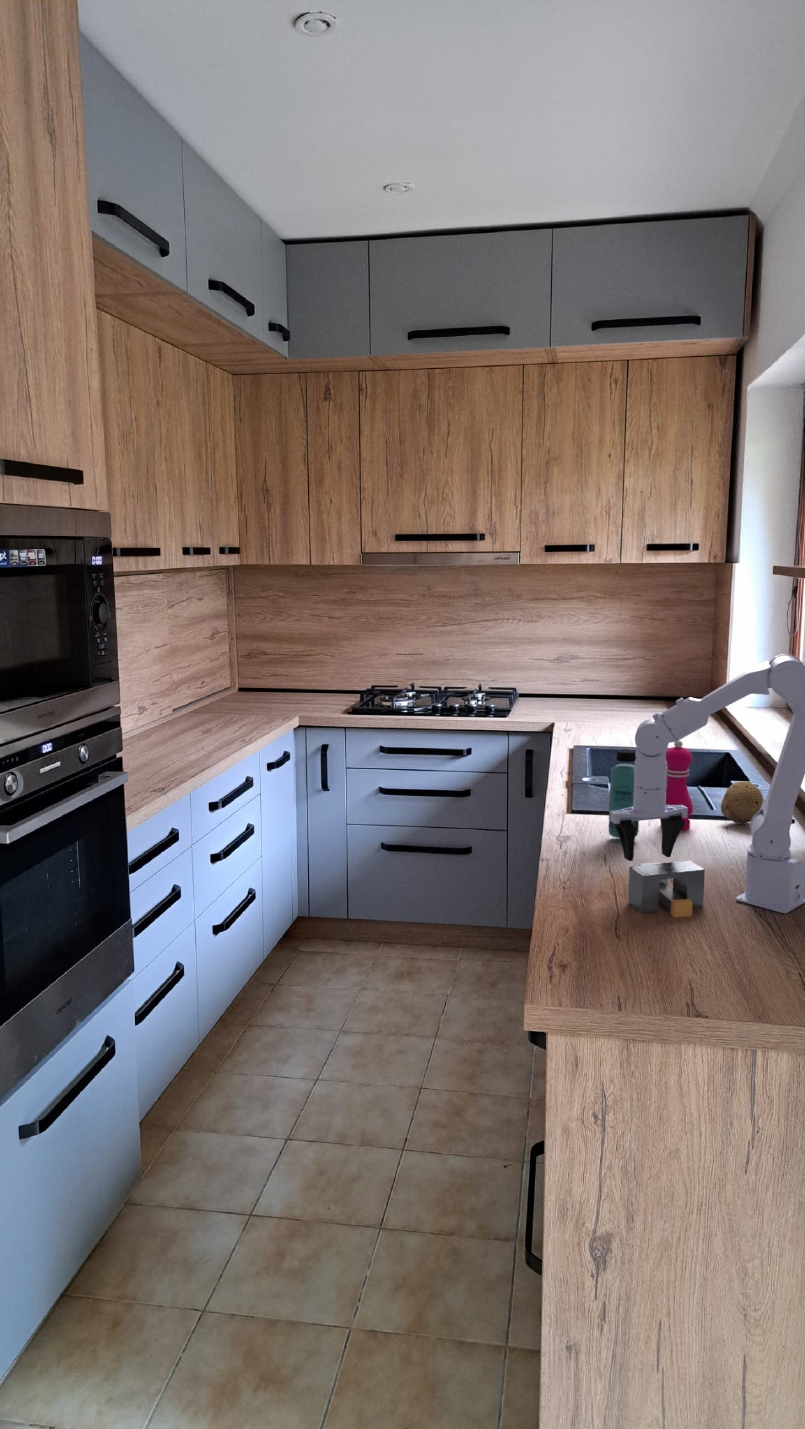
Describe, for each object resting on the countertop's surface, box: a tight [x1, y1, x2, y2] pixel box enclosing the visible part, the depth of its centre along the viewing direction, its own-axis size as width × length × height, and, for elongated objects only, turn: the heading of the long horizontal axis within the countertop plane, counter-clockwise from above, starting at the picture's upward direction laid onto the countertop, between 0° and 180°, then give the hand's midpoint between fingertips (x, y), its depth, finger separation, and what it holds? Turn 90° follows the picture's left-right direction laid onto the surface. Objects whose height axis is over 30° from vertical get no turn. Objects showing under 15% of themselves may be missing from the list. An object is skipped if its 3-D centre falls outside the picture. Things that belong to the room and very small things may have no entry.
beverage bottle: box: [607, 748, 640, 839], centre depth 210 cm, size 6×7×20 cm
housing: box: [628, 859, 706, 914], centre depth 175 cm, size 5×12×7 cm, turn 104°
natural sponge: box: [720, 780, 764, 825], centre depth 221 cm, size 9×9×10 cm
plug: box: [638, 861, 693, 918], centre depth 177 cm, size 16×4×4 cm, turn 8°
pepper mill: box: [666, 739, 694, 832], centre depth 219 cm, size 7×7×20 cm
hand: (647, 857), depth 181 cm, fingers open, 7 cm apart
